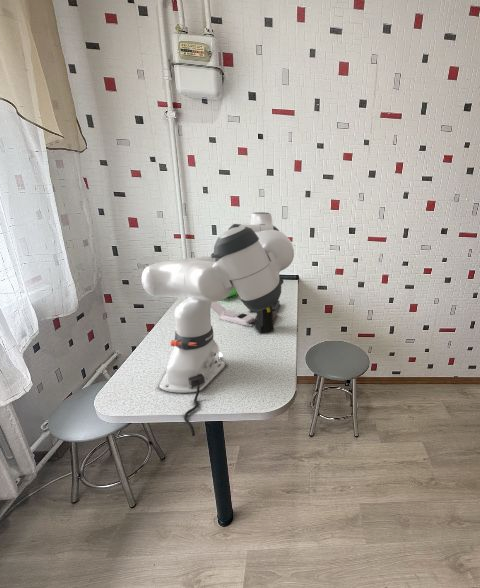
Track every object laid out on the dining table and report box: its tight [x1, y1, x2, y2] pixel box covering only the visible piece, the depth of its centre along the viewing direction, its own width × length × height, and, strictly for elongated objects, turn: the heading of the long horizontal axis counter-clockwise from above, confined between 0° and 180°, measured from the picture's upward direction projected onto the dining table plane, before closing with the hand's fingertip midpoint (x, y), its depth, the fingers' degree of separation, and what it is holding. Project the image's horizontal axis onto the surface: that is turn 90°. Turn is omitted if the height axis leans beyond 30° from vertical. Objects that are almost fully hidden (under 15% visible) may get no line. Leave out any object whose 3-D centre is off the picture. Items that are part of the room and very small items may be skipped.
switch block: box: [253, 311, 277, 325], centre depth 153 cm, size 10×8×4 cm
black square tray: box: [249, 300, 280, 314], centre depth 164 cm, size 11×12×3 cm
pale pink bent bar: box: [210, 301, 255, 327], centre depth 151 cm, size 6×6×25 cm
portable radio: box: [254, 306, 274, 334], centre depth 139 cm, size 8×6×25 cm
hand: (263, 285), depth 136 cm, fingers closed on portable radio, 6 cm apart
